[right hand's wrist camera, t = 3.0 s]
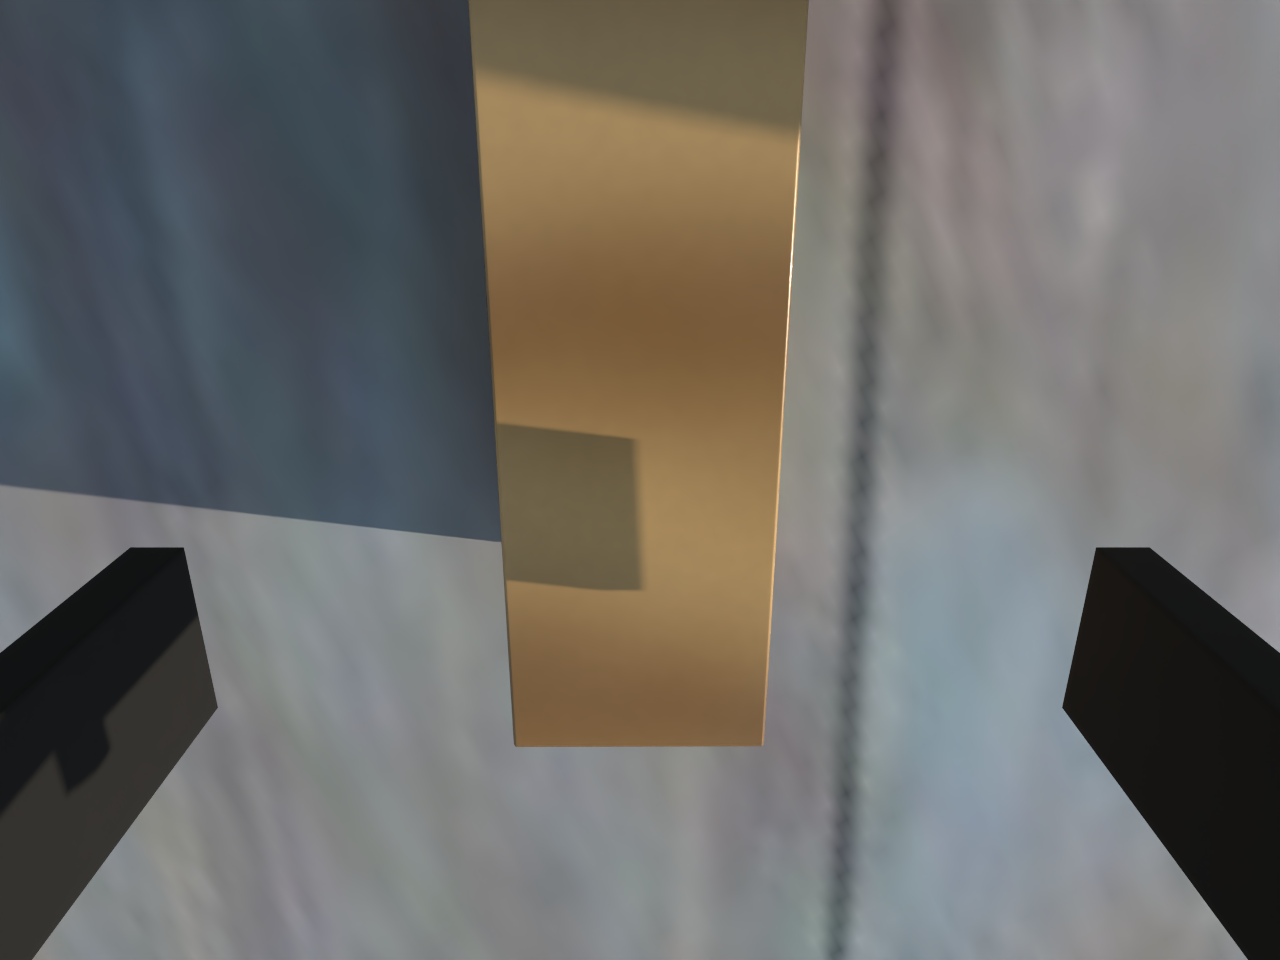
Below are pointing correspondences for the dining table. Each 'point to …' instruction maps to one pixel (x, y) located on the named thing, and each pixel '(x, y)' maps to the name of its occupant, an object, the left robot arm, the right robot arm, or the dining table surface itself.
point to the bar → (638, 354)
